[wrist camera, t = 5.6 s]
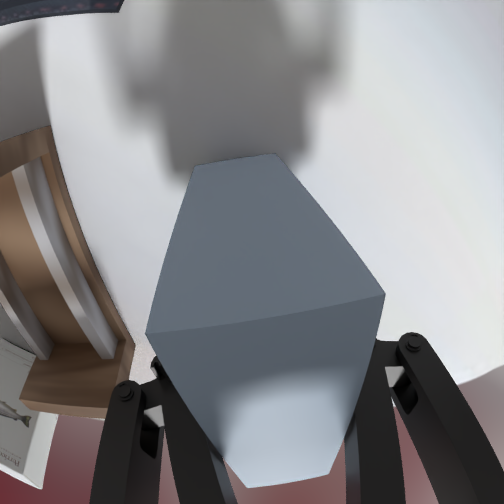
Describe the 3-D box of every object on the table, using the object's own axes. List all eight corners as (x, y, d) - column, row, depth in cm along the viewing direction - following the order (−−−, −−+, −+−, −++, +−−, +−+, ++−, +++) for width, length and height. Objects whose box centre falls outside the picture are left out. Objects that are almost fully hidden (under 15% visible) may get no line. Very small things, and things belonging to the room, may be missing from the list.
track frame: (-34, 172, 12) (-96, 212, 6) (50, 125, 12) (-29, 153, 6) (52, 349, 20) (30, 409, 15) (135, 345, 21) (121, 419, 15)
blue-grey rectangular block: (195, 165, 14) (145, 334, 4) (275, 153, 14) (385, 293, 4) (233, 336, 20) (247, 487, 11) (289, 326, 20) (328, 474, 11)
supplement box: (59, 361, 21) (25, 477, 11) (64, 396, 25) (43, 491, 14) (-1, 334, 19) (-46, 435, 8) (12, 373, 22) (-18, 460, 11)
